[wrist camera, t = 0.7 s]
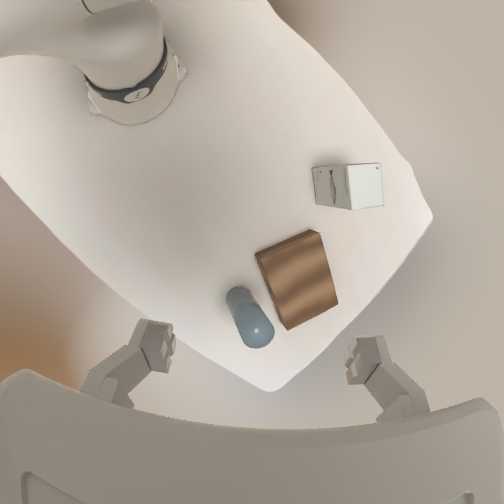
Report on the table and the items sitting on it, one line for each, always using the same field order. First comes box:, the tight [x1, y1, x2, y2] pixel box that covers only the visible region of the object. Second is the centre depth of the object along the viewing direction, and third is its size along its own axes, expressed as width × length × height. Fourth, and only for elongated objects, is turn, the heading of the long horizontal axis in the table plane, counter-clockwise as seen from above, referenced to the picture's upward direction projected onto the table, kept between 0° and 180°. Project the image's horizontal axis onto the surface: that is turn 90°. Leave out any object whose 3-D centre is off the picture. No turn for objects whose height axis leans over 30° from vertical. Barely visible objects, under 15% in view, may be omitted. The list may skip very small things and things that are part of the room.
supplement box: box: [312, 163, 384, 210], centre depth 46 cm, size 7×7×13 cm
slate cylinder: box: [226, 287, 275, 348], centre depth 46 cm, size 5×5×14 cm
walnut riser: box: [255, 230, 338, 331], centre depth 52 cm, size 16×12×4 cm
